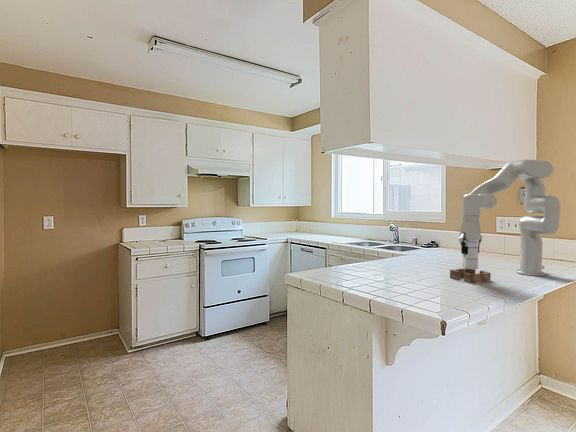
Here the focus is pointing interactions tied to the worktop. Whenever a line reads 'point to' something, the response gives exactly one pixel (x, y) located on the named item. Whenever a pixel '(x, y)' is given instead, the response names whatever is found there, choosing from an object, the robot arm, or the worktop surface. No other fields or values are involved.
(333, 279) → the worktop surface
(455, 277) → the brown joined bars
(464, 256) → the syrup box
